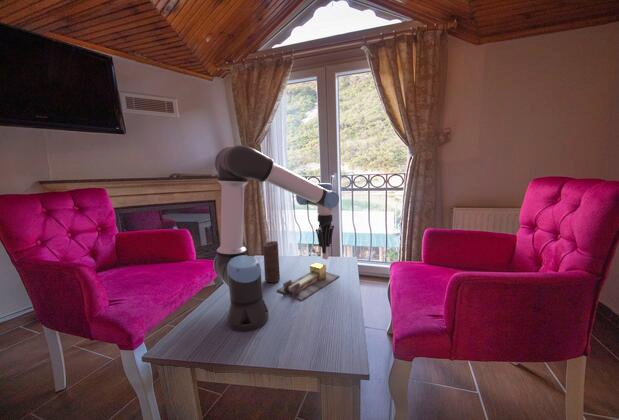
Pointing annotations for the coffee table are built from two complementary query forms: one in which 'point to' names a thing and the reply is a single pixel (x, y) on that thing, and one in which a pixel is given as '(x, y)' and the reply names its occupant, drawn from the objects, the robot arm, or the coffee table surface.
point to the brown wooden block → (271, 261)
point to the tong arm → (305, 280)
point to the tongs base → (306, 286)
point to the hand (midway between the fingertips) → (325, 258)
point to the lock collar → (318, 270)
